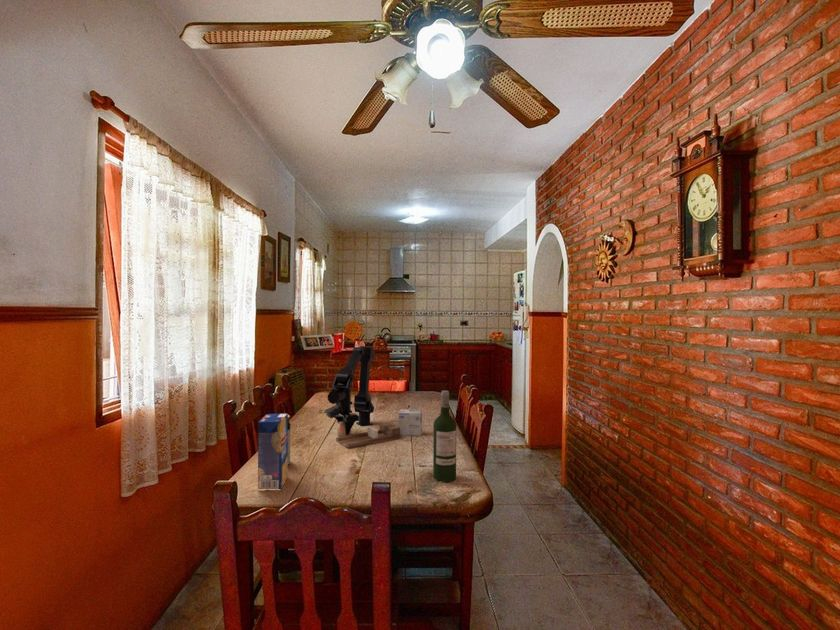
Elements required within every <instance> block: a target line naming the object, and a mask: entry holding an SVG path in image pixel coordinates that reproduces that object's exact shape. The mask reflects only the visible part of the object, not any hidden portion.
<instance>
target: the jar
mask: <svg viewBox="0 0 840 630" xmlns="http://www.w3.org/2000/svg"><path fill="white" fill-rule="evenodd" d="M351 430H352V429H351ZM351 430H350V432H349V435H352V431H351ZM343 436H348V435H346V432H345V424H344V423H343V422H342V421H341V422H339V423H338V422H337V437H343Z"/></svg>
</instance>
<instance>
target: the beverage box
mask: <svg viewBox="0 0 840 630" xmlns="http://www.w3.org/2000/svg"><path fill="white" fill-rule="evenodd" d="M288 415H289V414H288V413H267V414H265V415H264V416H263V417H262V418H261V419H260V420H259V421H258V422H257V427H258V429H257V446H258V447H257V450H258V451H257V456H258V457H257V490H258V489H281V490H282V488H283V486H284V485H283V483H284V481H285V480H286V481H287V479H288V466H289V465H288ZM286 478H287V479H286ZM286 481H285V482H286ZM284 484H285V483H284ZM282 485H283V486H282ZM281 487H282V488H281Z"/></svg>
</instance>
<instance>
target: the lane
mask: <svg viewBox="0 0 840 630" xmlns="http://www.w3.org/2000/svg"><path fill="white" fill-rule="evenodd" d="M377 430H378V437H377V438H372V437H370V436H368V431H366V432H360V433H354V434H351V435H348V436H343V437H338V436H337V437H336V439H335V440H336V441H335V442H336V443H337V442H338V443H337V444H339V445H341V446H342V447H344V448H346V449H347V448H349V449H353V447H354V448H357V447H358V446H359V447H363V445H364V446H368V445H369V446H370V445H374V444H377V443H382V442H388V441H394V440H399V439H401V435H400V428H399V427H398V426H397V425H394V424H391V423H389V422H384V423H379V429H377Z"/></svg>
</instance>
